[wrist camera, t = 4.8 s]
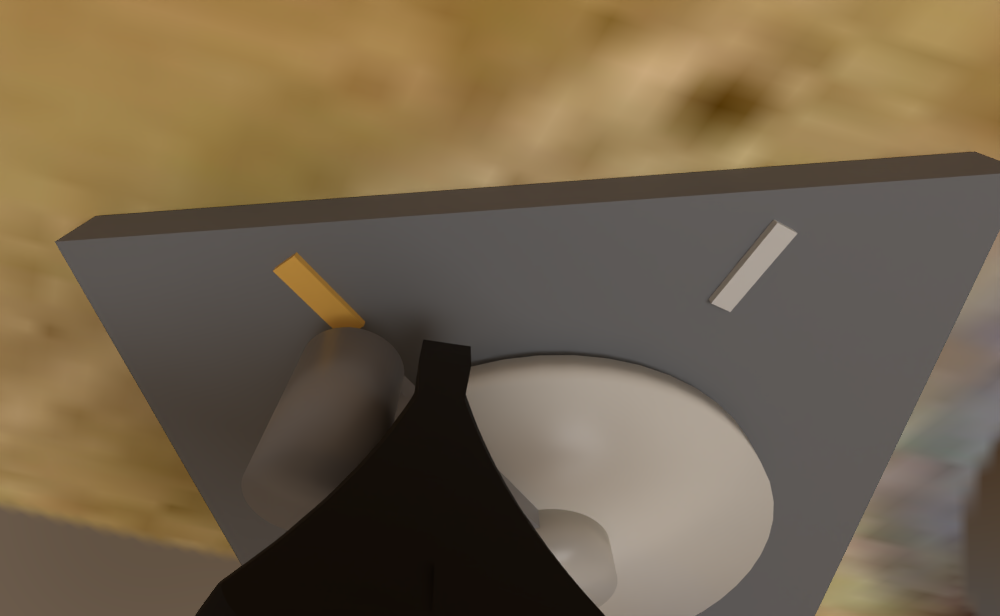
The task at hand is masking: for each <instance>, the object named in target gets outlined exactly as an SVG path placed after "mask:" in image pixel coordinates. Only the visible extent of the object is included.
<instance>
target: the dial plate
mask: <svg viewBox="0 0 1000 616" xmlns="http://www.w3.org/2000/svg"><path fill="white" fill-rule="evenodd" d="M999 230H1000V161H998V160H996V159H993V158H990V157H988V156H985V155H982V154H980V153H977V152H965V153H952V154H938V155H924V156H911V157H897V158H883V159H870V160H856V161H842V162H829V163H815V164H801V165H788V166H774V167H760V168H747V169H733V170H719V171H706V172H692V173H678V174H665V175H651V176H637V177H624V178H610V179H596V180H583V181H569V182H555V183H542V184H528V185H514V186H501V187H487V188H473V189H460V190H446V191H432V192H419V193H405V194H391V195H378V196H364V197H350V198H337V199H323V200H309V201H296V202H282V203H268V204H255V205H241V206H227V207H214V208H200V209H186V210H173V211H159V212H145V213H132V214H118V215H104V216H95V217H93V218H92V219H90V220H89V221H87V222H86V223H84V224H82V225H81V226H79V227H78V228H76V229H74V230H73V231H71V232H70V233H68V234H66V235H65V236H63V237H62V238H60V239H59V240H57V241H55V243H56V244H57V246H58V248H59V250H60V251H61V253H62V255H63V257H64V258H65V260H66V262H67V263H68V265H69V267H70V269H71V270H72V272H73V274H74V276H75V277H76V279H77V281H78V282H79V284H80V286H81V288H82V289H83V291H84V293H85V295H86V296H87V298H88V300H89V302H90V303H91V305H92V307H93V308H94V310H95V312H96V314H97V315H98V317H99V319H100V321H101V322H102V324H103V326H104V327H105V329H106V331H107V333H108V334H109V336H110V338H111V340H112V341H113V343H114V345H115V347H116V348H117V350H118V352H119V353H120V355H121V357H122V359H123V360H124V362H125V364H126V366H127V367H128V369H129V371H130V372H131V374H132V376H133V378H134V379H135V381H136V383H137V385H138V386H139V388H140V390H141V392H142V393H143V395H144V397H145V398H146V400H147V402H148V404H149V405H150V407H151V409H152V411H153V412H154V414H155V416H156V417H157V419H158V421H159V423H160V424H161V426H162V428H163V430H164V431H165V433H166V435H167V437H168V438H169V440H170V442H171V443H172V445H173V447H174V449H175V450H176V452H177V454H178V456H179V457H180V459H181V461H182V462H183V464H184V466H185V468H186V469H187V471H188V473H189V475H190V476H191V478H192V480H193V482H194V483H195V485H196V487H197V488H198V490H199V492H200V494H201V495H202V497H203V499H204V501H205V502H206V504H207V506H208V507H209V509H210V511H211V513H212V514H213V516H214V518H215V520H216V521H217V523H218V525H219V527H220V528H221V530H222V532H223V533H224V535H225V537H226V539H227V540H228V542H229V544H230V546H231V547H232V549H233V551H234V552H235V554H236V556H237V558H238V559H239V561H240V563H241V565H243V564H245V563H246V562H247V561H249V560H250V559H252V558H253V557H254V556H256V555H257V554H258V553H260V552H261V551H262V550H264V549H265V548H266V547H268V546H269V545H270V544H272V543H273V542H274V541H276V540H277V539H278V538H279V537H281V536H282V535H283V534H284V533H285V532H287V531H288V530H285V529H282V528H280V527H277V526H275V525H273V524H271V523H269V522H268V521H266V520H264V519H263V518H262V517H260V516H259V515H258V514H257V513H256V512H254V511H253V510H252V508H251V507H250V506H249V505H248V503H247V502H246V500H245V498H244V496H243V493H242V488H241V483H242V478H243V475H244V473H245V471H246V469H247V466H248V464H249V462H250V460H251V458H252V456H253V454H254V452H255V450H256V448H257V446H258V444H259V442H260V440H261V438H262V436H263V434H264V431H265V429H266V427H267V425H268V423H269V421H270V419H271V417H272V415H273V413H274V411H275V409H276V407H277V405H278V403H279V401H280V399H281V396H282V394H283V392H284V390H285V388H286V386H287V384H288V382H289V380H290V378H291V376H292V374H293V372H294V370H295V368H296V366H297V364H298V362H299V359H300V357H301V355H302V353H303V351H304V349H305V347H306V345H307V344H308V343H309V341H310V340H311V339H312V338H314V337H315V336H316V335H318V334H320V333H322V332H324V331H326V330H329V329H333V328H340V327H352V328H359V329H364V330H367V331H370V332H372V333H375V334H377V335H379V336H380V337H382V338H384V339H385V340H386V341H388V342H389V343H390V344H391V345H392V346H393V347H394V348H395V349H396V350H397V352H398V354H399V355H400V357H401V359H402V362H403V365H404V376H405V377H406V378H407V379H408V380H409V381H410V382H411V383H412V384H413V385H414V386H415V384H416V377H417V370H418V363H419V357H420V352H421V347H422V343H423V339H424V340H431V341H438V342H444V343H451V344H458V345H465V346H471V366H476V365H480V364H485V363H490V362H494V361H499V360H503V359H511V358H520V357H529V356H538V355H578V356H589V357H599V358H609V359H613V360H618V361H623V362H627V363H632V364H637V365H641V366H644V367H647V368H650V369H653V370H656V371H659V372H662V373H665V374H668V375H670V376H672V377H674V378H676V379H678V380H680V381H682V382H685V383H687V384H689V385H691V386H693V387H695V388H696V389H698V390H699V391H701V392H702V393H704V394H705V395H707V396H708V397H709V398H711V399H712V400H714V401H715V402H717V403H718V404H719V405H720V406H721V407H722V408H723V409H724V410H725V411H726V412H727V413H728V414H729V415H730V416H731V417H732V418H733V419H734V420H735V421H736V422H737V424H738V425H739V427H740V428H741V429H742V431H743V432H744V434H745V435H746V436H747V438H748V440H749V442H750V443H751V445H752V447H753V449H754V451H755V453H756V454H757V456H758V458H759V460H760V462H761V463H762V466H763V468H764V470H765V472H766V475H767V477H768V479H769V481H770V485H771V490H772V495H773V500H774V506H773V522H772V526H771V530H770V534H769V538H768V540H767V542H766V545H765V547H764V549H763V551H762V553H761V555H760V557H759V558H758V560H757V561H756V563H755V564H754V566H753V567H752V569H751V570H750V571H749V572H748V574H747V575H746V576H745V577H744V578H743V579H742V580H741V581H740V582H739V583H738V584H737V586H735V587H734V588H733V589H732V590H731V591H730V592H728V593H727V594H726V595H725V596H724V597H723V598H721V599H720V600H719V601H717V602H716V603H714V604H713V605H712V606H710V607H709V608H707V609H706V610H704V611H703V612H701V613H699V614H697V615H696V616H815V614H816V612H817V610H818V608H819V606H820V604H821V602H822V600H823V598H824V595H825V593H826V591H827V589H828V587H829V585H830V583H831V581H832V579H833V577H834V575H835V572H836V570H837V568H838V566H839V564H840V562H841V560H842V558H843V556H844V554H845V552H846V550H847V547H848V545H849V543H850V541H851V539H852V537H853V535H854V533H855V531H856V529H857V527H858V524H859V522H860V520H861V518H862V516H863V514H864V512H865V510H866V508H867V506H868V504H869V502H870V499H871V497H872V495H873V493H874V491H875V489H876V487H877V485H878V483H879V481H880V479H881V476H882V474H883V472H884V470H885V468H886V466H887V464H888V462H889V460H890V458H891V456H892V454H893V451H894V449H895V447H896V445H897V443H898V441H899V439H900V437H901V435H902V433H903V431H904V428H905V426H906V424H907V422H908V420H909V418H910V416H911V414H912V412H913V410H914V408H915V406H916V403H917V401H918V399H919V397H920V395H921V393H922V391H923V389H924V387H925V385H926V383H927V380H928V378H929V376H930V374H931V372H932V370H933V368H934V366H935V364H936V362H937V360H938V358H939V355H940V353H941V351H942V349H943V347H944V345H945V343H946V341H947V339H948V337H949V335H950V332H951V330H952V328H953V326H954V324H955V322H956V320H957V318H958V316H959V314H960V312H961V309H962V307H963V305H964V303H965V301H966V299H967V297H968V295H969V293H970V291H971V289H972V287H973V284H974V282H975V280H976V278H977V276H978V274H979V272H980V270H981V268H982V266H983V264H984V261H985V259H986V257H987V255H988V253H989V251H990V249H991V247H992V245H993V243H994V241H995V239H996V236H997V234H998V232H999Z"/></svg>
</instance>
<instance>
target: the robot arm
mask: <svg viewBox="0 0 1000 616" xmlns="http://www.w3.org/2000/svg"><path fill="white" fill-rule="evenodd" d="M470 370H471V346H465V345H458V344H451V343H444V342H438V341H431V340H424V339H423V343H422V347H421V352H420V357H419V363H418V370H417V377H416V384H415V391H414V394H413V396H412V397H411V399H410V401H409V402H408V404H407V405H406V407H405V408H404V409H403V411H402V412H401V413H400V415H399V416H398V417H397V419H396V420H395V422H394V423H393V424H392V426H391V427H390V428H389V430H388V431H387V432H386V434H385V435H384V436H383V437H382V438H381V440H380V441H379V442H378V443H377V445H376V446H375V447H374V448H373V449H372V450H371V451H370V453H369V454H368V455H367V456H366V457H365V458H364V459H363V460H362V462H361V463H360V464H359V465H358V466H357V467H356V468H355V469H354V470H353V471H352V472H351V473H350V474H349V475H348V476H347V477H346V478H345V479H344V480H343V481H342V482H341V483H340V484H339V485H338V486H337V487H336V488H335V489H334V490H333V491H332V492H331V493H330V494H329V495H328V496H327V497H326V498H325V499H324V500H323V501H321V502H320V503H319V504H318V505H317V506H316V507H315V508H313V509H312V510H311V511H310V512H309V513H308V514H306V515H305V516H304V517H303V518H302V519H301V520H299V521H298V522H297V523H296V524H295V525H294V526H292V527H291V528H290V529H289V530H288V531H287V532H285V533H284V534H283V535H282V536H281V537H279V538H278V539H277V540H276V541H274V542H273V543H272V544H270V545H269V546H268V547H266V548H265V549H264V550H262V551H261V552H260V553H258V554H257V555H256V556H254V557H253V558H252V559H250V560H249V561H247V562H246V563H245V564H243V565H242V566H241V567H239V568H238V569H237V570H235V571H234V572H233V573H232V574H230V575H229V576H227V577H226V578H224V579H223V580H222V581H220V582H219V583H218V585H217V586H216V587H215V589H214V590H213V591H212V593H211V594H210V596H209V597H208V598H207V600H206V601H205V602H204V604H203V605H202V606H201V608H200V609H199V611H198V612H197V614H196V616H605V615H604V614H603V613H602V612H601V610H600V609H599V608H598V607H597V606H596V605H595V604H594V603H593V602H592V600H591V599H590V598H589V597H588V596H587V595H586V594H585V593H584V591H583V590H582V589H581V588H580V587H579V585H578V584H577V583H576V582H575V581H574V580H573V578H572V577H571V576H570V575H569V574H568V572H567V571H566V570H565V569H564V567H563V566H562V565H561V563H560V562H559V561H558V560H557V558H556V557H555V556H554V554H553V553H552V552H551V551H550V549H549V548H548V547H547V545H546V544H545V542H544V541H543V540H542V538H541V537H540V535H539V534H538V532H537V531H536V530H535V528H534V527H533V525H532V524H531V522H530V521H529V519H528V518H527V517H526V515H525V514H524V512H523V511H522V509H521V508H520V506H519V505H518V503H517V501H516V500H515V498H514V496H513V495H512V493H511V491H510V490H509V488H508V487H507V485H506V483H505V481H504V479H503V478H502V476H501V474H500V472H499V470H498V469H497V467H496V465H495V463H494V461H493V459H492V457H491V455H490V453H489V451H488V449H487V446H486V444H485V442H484V440H483V438H482V435H481V433H480V431H479V428H478V426H477V424H476V421H475V419H474V416H473V413H472V410H471V408H470V405H469V402H468V399H467V396H466V390H467V385H468V380H469V375H470Z"/></svg>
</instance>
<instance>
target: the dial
mask: <svg viewBox="0 0 1000 616" xmlns="http://www.w3.org/2000/svg"><path fill="white" fill-rule="evenodd" d="M414 391H415V386H414V385H413V384H412V383H411V382H410V381H409V380H408V379H407V378H406V377H405V376H404V365H403V362H402V359H401V357H400V355H399V354H398V352H397V350H396V349H395V348H394V347H393V346H392V345H391V344H390V343H389V342H388V341H386V340H385V339H384V338H382V337H380V336H379V335H377V334H375V333H372V332H370V331H367V330H364V329H359V328H352V327H340V328H333V329H329V330H326V331H324V332H322V333H320V334H318V335H316V336H315V337H314V338H312V339H311V340H310V341H309V343H308V344H307V345H306V347H305V349H304V351H303V353H302V355H301V357H300V359H299V362H298V364H297V366H296V368H295V370H294V372H293V374H292V376H291V378H290V380H289V382H288V384H287V386H286V388H285V390H284V392H283V394H282V396H281V399H280V401H279V403H278V405H277V407H276V409H275V411H274V413H273V415H272V417H271V419H270V421H269V423H268V425H267V427H266V429H265V431H264V434H263V436H262V438H261V440H260V442H259V444H258V446H257V448H256V450H255V452H254V454H253V456H252V458H251V460H250V462H249V464H248V466H247V469H246V471H245V473H244V475H243V478H242V483H241V488H242V493H243V496H244V498H245V500H246V502H247V503H248V505H249V506H250V507H251V508H252V510H253V511H254V512H256V513H257V514H258V515H259V516H260V517H262V518H263V519H264V520H266V521H268V522H269V523H271V524H273V525H275V526H277V527H280V528H282V529H285V530H289V529H290V528H291V527H292V526H294V525H295V524H296V523H297V522H298V521H299V520H301V519H302V518H303V517H304V516H305V515H306V514H308V513H309V512H310V511H311V510H312V509H313V508H315V507H316V506H317V505H318V504H319V503H320V502H321V501H323V500H324V499H325V498H326V497H327V496H328V495H329V494H330V493H331V492H332V491H333V490H334V489H335V488H336V487H337V486H338V485H339V484H340V483H341V482H342V481H343V480H344V479H345V478H346V477H347V476H348V475H349V474H350V473H351V472H352V471H353V470H354V469H355V468H356V467H357V466H358V465H359V464H360V463H361V462H362V460H363V459H364V458H365V457H366V456H367V455H368V454H369V453H370V451H371V450H372V449H373V448H374V447H375V446H376V445H377V443H378V442H379V441H380V440H381V438H382V437H383V436H384V435H385V434H386V432H387V431H388V430H389V428H390V427H391V426H392V424H393V423H394V422H395V420H396V419H397V417H398V416H399V415H400V413H401V412H402V411H403V409H404V408H405V407H406V405H407V404H408V402H409V401H410V399H411V397H412V396H413V394H414ZM466 396H467V399H468V402H469V405H470V408H471V410H472V413H473V416H474V419H475V421H476V424H477V426H478V428H479V431H480V433H481V435H482V438H483V440H484V442H485V444H486V446H487V449H488V451H489V453H490V455H491V457H492V459H493V461H494V463H495V465H496V467H497V469H498V470H499V472H500V474H501V476H502V478H503V479H504V481H505V483H506V485H507V487H508V488H509V490H510V491H511V493H512V495H513V496H514V498H515V500H516V501H517V503H518V505H519V506H520V508H521V509H522V511H523V512H524V514H525V515H526V517H527V518H528V519H529V521H530V522H531V524H532V525H533V527H534V528H535V530H536V531H537V532H538V534H539V535H540V537H541V538H542V540H543V541H544V542H545V544H546V545H547V547H548V548H549V549H550V551H551V552H552V553H553V554H554V556H555V557H556V558H557V560H558V561H559V562H560V563H561V565H562V566H563V567H564V569H565V570H566V571H567V572H568V574H569V575H570V576H571V577H572V578H573V580H574V581H575V582H576V583H577V584H578V585H579V587H580V588H581V589H582V590H583V591H584V593H585V594H586V595H587V596H588V597H589V598H590V599H591V600H592V602H593V603H594V604H595V605H596V606H597V607H598V608H599V609H600V610H601V612H602V613H603V614H604V615H605V616H696V615H697V614H699V613H701V612H703V611H704V610H706V609H707V608H709V607H710V606H712V605H713V604H714V603H716V602H717V601H719V600H720V599H721V598H723V597H724V596H725V595H726V594H727V593H728V592H730V591H731V590H732V589H733V588H734V587H735V586H737V584H738V583H739V582H740V581H741V580H742V579H743V578H744V577H745V576H746V575H747V574H748V572H749V571H750V570H751V569H752V567H753V566H754V564H755V563H756V561H757V560H758V558H759V557H760V555H761V553H762V551H763V549H764V547H765V545H766V542H767V540H768V538H769V534H770V530H771V526H772V522H773V506H774V500H773V495H772V490H771V485H770V481H769V479H768V477H767V475H766V472H765V470H764V468H763V466H762V463H761V462H760V460H759V458H758V456H757V454H756V453H755V451H754V449H753V447H752V445H751V443H750V442H749V440H748V438H747V436H746V435H745V434H744V432H743V431H742V429H741V428H740V427H739V425H738V424H737V422H736V421H735V420H734V419H733V418H732V417H731V416H730V415H729V414H728V413H727V412H726V411H725V410H724V409H723V408H722V407H721V406H720V405H719V404H718V403H717V402H715V401H714V400H712V399H711V398H709V397H708V396H707V395H705V394H704V393H702V392H701V391H699V390H698V389H696V388H695V387H693V386H691V385H689V384H687V383H685V382H682V381H680V380H678V379H676V378H674V377H672V376H670V375H668V374H665V373H662V372H659V371H656V370H653V369H650V368H647V367H644V366H641V365H637V364H632V363H627V362H623V361H618V360H613V359H609V358H599V357H589V356H578V355H538V356H529V357H520V358H511V359H503V360H499V361H494V362H490V363H485V364H480V365H476V366H471V370H470V375H469V380H468V385H467V390H466Z"/></svg>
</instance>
